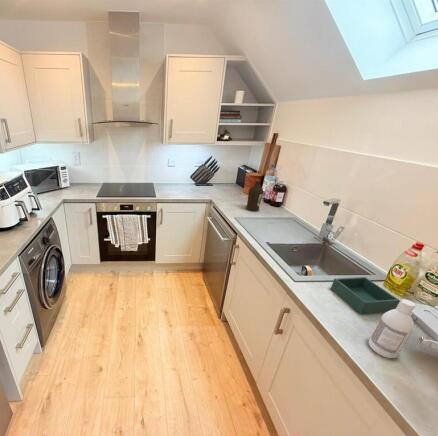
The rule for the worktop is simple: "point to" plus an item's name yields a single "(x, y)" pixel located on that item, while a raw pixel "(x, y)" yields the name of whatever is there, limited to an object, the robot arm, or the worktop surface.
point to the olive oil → (254, 196)
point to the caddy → (364, 295)
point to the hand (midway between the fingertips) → (408, 327)
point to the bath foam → (393, 330)
